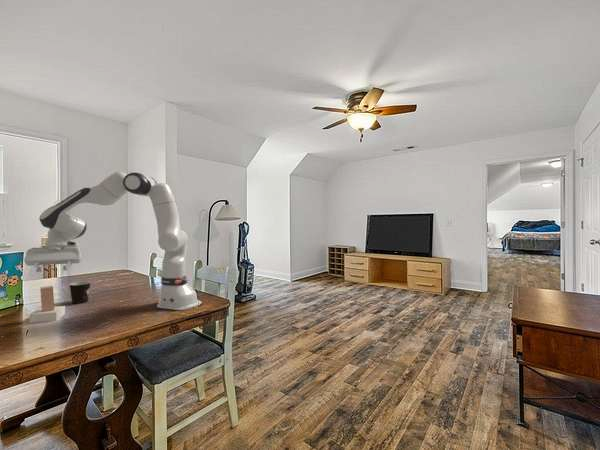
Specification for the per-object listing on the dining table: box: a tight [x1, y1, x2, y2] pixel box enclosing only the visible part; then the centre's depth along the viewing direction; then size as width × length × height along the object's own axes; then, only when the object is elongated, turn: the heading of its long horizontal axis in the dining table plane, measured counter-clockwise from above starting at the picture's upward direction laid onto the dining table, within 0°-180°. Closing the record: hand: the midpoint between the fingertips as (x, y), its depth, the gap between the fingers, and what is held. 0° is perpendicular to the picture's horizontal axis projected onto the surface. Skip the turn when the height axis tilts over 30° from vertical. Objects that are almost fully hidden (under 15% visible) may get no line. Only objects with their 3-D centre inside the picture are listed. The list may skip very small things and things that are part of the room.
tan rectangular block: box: [39, 285, 55, 312], centre depth 122 cm, size 4×4×10 cm
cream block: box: [28, 305, 66, 324], centre depth 122 cm, size 9×9×4 cm
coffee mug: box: [69, 280, 91, 305], centre depth 146 cm, size 12×9×10 cm
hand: (51, 270), depth 128 cm, fingers open, 8 cm apart
